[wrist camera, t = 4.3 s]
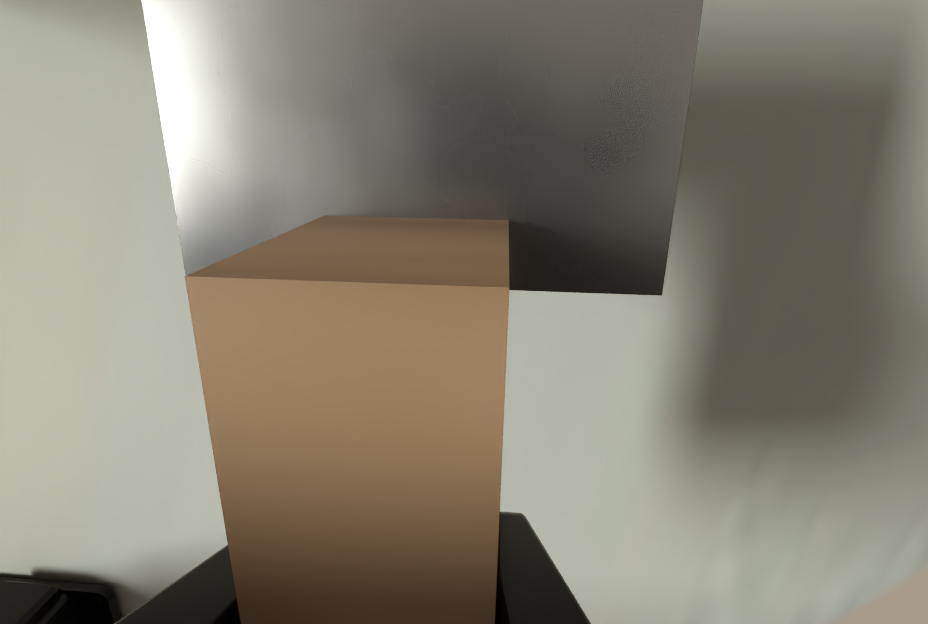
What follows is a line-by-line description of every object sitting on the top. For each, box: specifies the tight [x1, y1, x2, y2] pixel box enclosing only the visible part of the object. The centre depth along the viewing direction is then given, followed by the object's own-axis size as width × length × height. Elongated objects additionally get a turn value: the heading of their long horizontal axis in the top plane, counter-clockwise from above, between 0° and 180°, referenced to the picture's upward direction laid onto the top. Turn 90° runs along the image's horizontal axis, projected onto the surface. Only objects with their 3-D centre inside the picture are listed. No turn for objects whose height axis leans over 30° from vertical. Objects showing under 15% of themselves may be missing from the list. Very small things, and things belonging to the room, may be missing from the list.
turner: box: [142, 0, 703, 624], centre depth 7 cm, size 14×7×4 cm, turn 179°
